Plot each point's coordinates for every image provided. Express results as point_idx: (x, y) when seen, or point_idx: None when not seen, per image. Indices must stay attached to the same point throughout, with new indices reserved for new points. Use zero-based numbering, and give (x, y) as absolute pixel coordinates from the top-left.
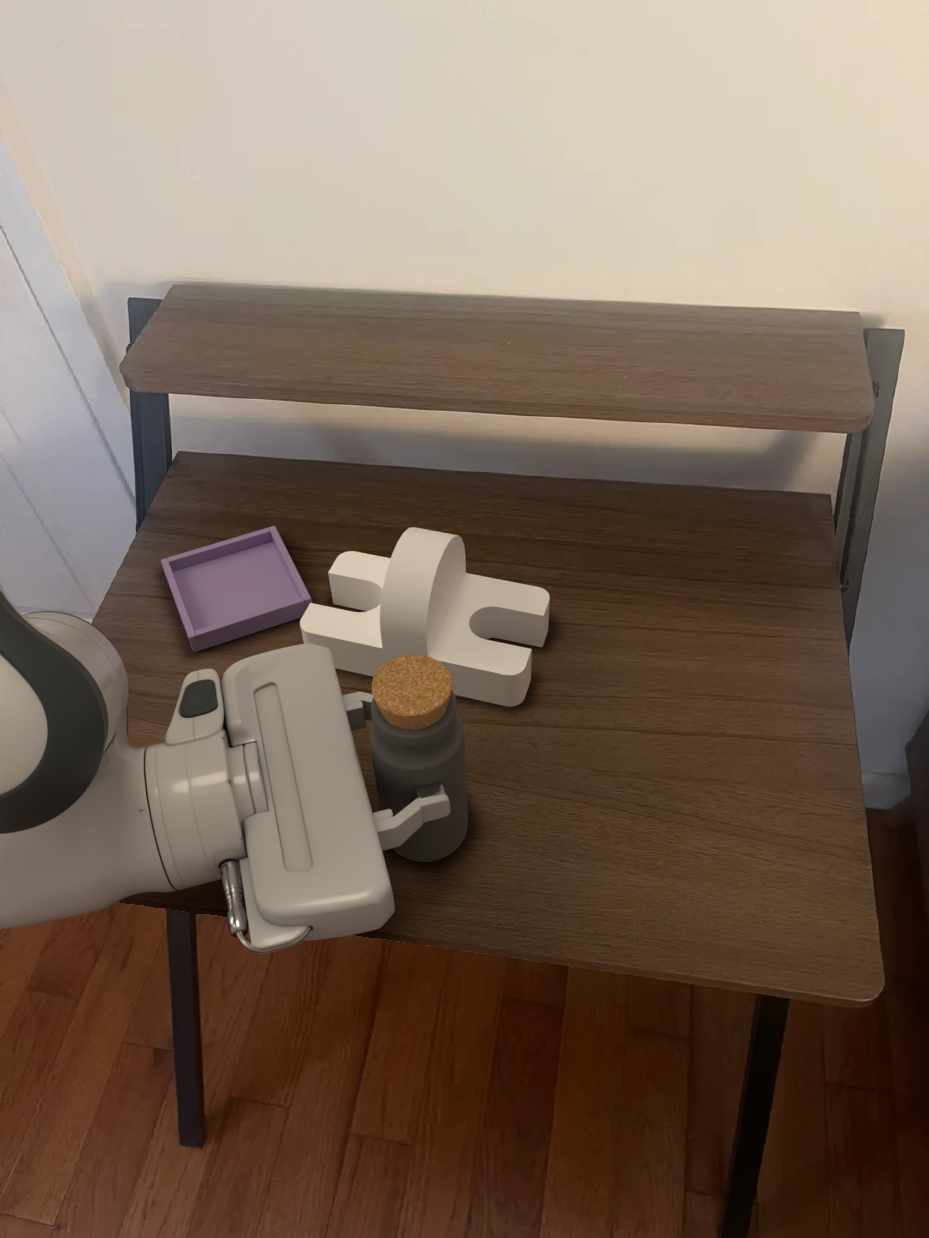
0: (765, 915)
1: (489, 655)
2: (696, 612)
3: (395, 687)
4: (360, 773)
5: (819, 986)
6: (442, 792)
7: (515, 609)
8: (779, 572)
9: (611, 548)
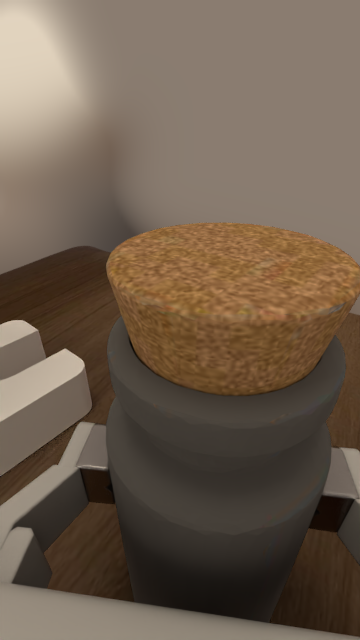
0: (354, 345)
1: (39, 378)
2: (101, 293)
3: (233, 271)
4: (292, 630)
5: None
6: (338, 448)
7: (8, 343)
8: (105, 264)
9: (7, 304)
